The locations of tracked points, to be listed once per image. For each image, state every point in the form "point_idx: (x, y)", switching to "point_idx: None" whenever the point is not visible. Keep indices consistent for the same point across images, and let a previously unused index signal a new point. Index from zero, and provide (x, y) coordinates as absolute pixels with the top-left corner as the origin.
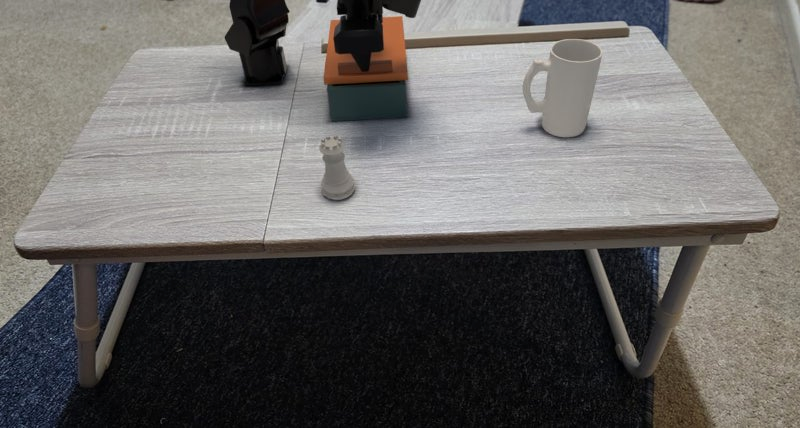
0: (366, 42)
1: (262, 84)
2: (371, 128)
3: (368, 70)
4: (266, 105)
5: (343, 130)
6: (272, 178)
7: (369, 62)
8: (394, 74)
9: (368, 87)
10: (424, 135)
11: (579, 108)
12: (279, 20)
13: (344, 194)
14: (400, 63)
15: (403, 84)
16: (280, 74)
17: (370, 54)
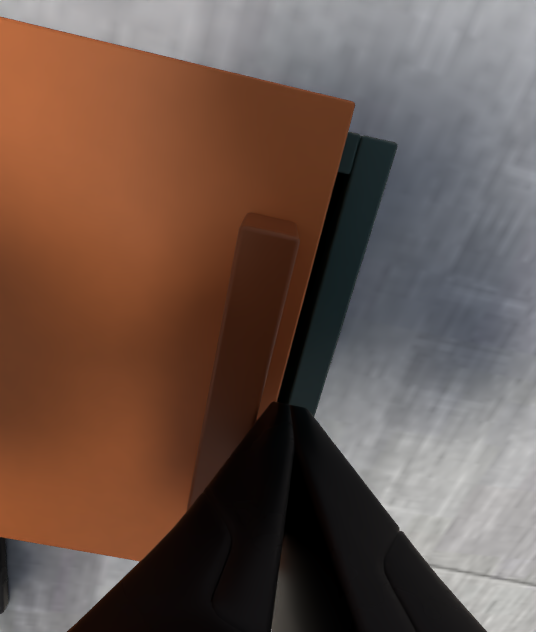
0: None
1: (5, 571)
2: (375, 309)
3: (309, 413)
4: (127, 566)
5: (347, 400)
6: (494, 585)
7: (343, 458)
8: (325, 213)
9: (327, 368)
10: (530, 102)
11: None
12: None
13: None
14: (177, 121)
15: (388, 158)
16: None
17: (389, 522)
